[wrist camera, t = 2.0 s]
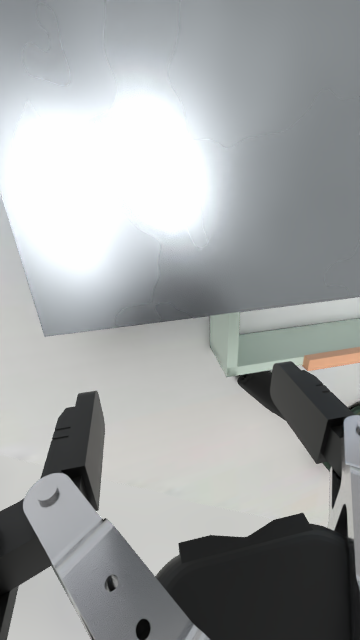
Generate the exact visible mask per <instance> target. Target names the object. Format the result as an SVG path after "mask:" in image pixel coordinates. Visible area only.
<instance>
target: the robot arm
mask: <svg viewBox="0 0 360 640" xmlns="http://www.w3.org/2000/svg"><path fill="white" fill-rule="evenodd" d="M270 394H271V398H272V401H273V403H274V404H275V406H276V407H277V408H278V410H279V411H280V413H281V414H282V415H283V417H284V418H285V420H286V421H287V423H288V424H289V425H290V427H291V428H292V430H293V431H294V432H295V434H296V435H297V437H298V438H299V440H300V441H301V442H302V444H303V445H304V447H305V448H306V450H307V451H308V452H309V454H310V455H311V457H312V458H313V459H314V461H315V462H316V464H319V463H323V462H328V463H329V464H330V465H331V468H330V485H329V520H328V526H327V528H326V527H323V526H320V525H315V524H309V522H308V521H307V519H306V517H305V515H304V513H300V514H296V515H292V516H288V517H284V518H280V519H276V520H273V521H272V522H270V523H268V524H267V525H266V526H264V527H262V528H261V529H259V530H257V531H256V532H254V533H253V534H251V535H250V536H248V537H230V536H214V535H213V536H212V535H210V536H206V537H202V538H198V539H194V540H190V541H185V542H181V543H179V553H180V554H179V555H178V556H176V557H175V558H173V559H172V560H171V561H170V562H168V563H167V564H166V565H165V566H164V567H163V568H162V569H161V570H160V571H159V573H158V574H157V575H156V576H154V575H153V574H152V572H151V571H150V570H149V569H148V567H147V566H146V565H145V564H144V563H143V561H142V560H141V559H140V557H139V556H138V555H137V554H136V553H135V551H134V550H133V549H132V548H131V546H130V545H129V544H128V543H127V541H126V540H125V539H124V538H123V536H122V535H121V534H120V533H119V531H118V530H117V529H116V528H115V527H114V526H113V524H112V523H111V522H110V521H109V520H108V519H106V518H105V519H104V520H103V519H102V518H101V517H100V516H99V514H98V513H97V512H96V511H97V510H98V508H99V497H100V483H101V472H102V460H103V447H104V435H105V424H104V417H103V412H102V408H101V404H100V399H99V395H98V392H97V391H92V392H85V393H79V394H78V397H77V401H76V406H75V407H70V408H66V409H65V410H64V412H63V413H62V414H61V415H60V417H59V418H58V421H57V424H56V428H55V431H54V434H53V438H52V439H53V440H52V441H51V445H50V448H49V452H48V455H47V459H46V462H45V465H44V469H43V473H42V476H41V479H40V480H38V481H37V482H36V483H35V484H34V485H33V486H32V487H31V488H30V489H29V491H28V492H27V494H26V496H25V498H24V499H22V500H21V501H20V502H18V503H16V504H14V505H12V506H10V507H8V508H6V509H4V510H2V511H0V640H7V636H8V632H9V627H10V622H11V618H12V613H13V608H14V604H15V599H16V595H17V591H18V586H19V585H20V584H22V583H23V582H25V581H27V580H28V579H30V578H32V577H33V576H35V575H37V574H38V573H40V572H42V571H43V570H45V569H46V568H48V567H50V566H52V568H53V570H54V572H55V574H56V575H57V577H58V579H59V581H60V583H61V585H62V586H63V588H64V590H65V592H66V594H67V596H68V597H69V599H70V601H71V603H72V605H73V607H74V608H75V610H76V612H77V614H78V616H79V618H80V620H81V622H82V623H83V625H84V627H85V629H86V631H87V633H88V635H89V637H90V639H91V640H360V416H359V415H355V414H354V413H353V412H352V411H350V410H349V409H348V408H347V407H346V406H345V405H344V404H343V403H342V402H341V401H340V400H339V399H338V398H337V397H336V396H335V395H334V394H333V393H332V392H330V390H329V389H328V388H327V387H326V386H325V385H323V383H322V382H321V381H320V380H319V379H318V378H316V377H315V376H314V375H312V374H310V373H308V372H307V371H305V370H300V369H299V368H298V367H297V366H296V365H295V364H294V363H293V362H292V361H287V362H281V363H275V364H274V365H273V369H272V378H271V386H270Z"/></svg>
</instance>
